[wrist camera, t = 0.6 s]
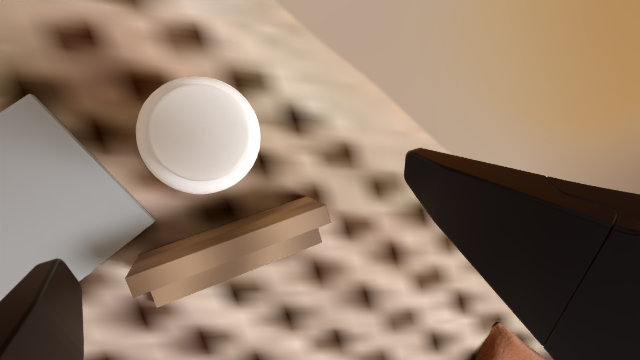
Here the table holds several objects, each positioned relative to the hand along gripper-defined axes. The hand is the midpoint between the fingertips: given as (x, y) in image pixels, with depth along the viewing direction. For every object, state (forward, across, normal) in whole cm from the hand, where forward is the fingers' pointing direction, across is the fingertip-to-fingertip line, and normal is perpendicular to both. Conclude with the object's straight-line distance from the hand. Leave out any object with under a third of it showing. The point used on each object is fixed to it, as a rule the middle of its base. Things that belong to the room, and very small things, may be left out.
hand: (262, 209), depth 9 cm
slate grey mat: (+15, +12, +7) cm, 20 cm away
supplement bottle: (+16, +1, +5) cm, 16 cm away
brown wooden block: (+12, +1, +12) cm, 17 cm away
